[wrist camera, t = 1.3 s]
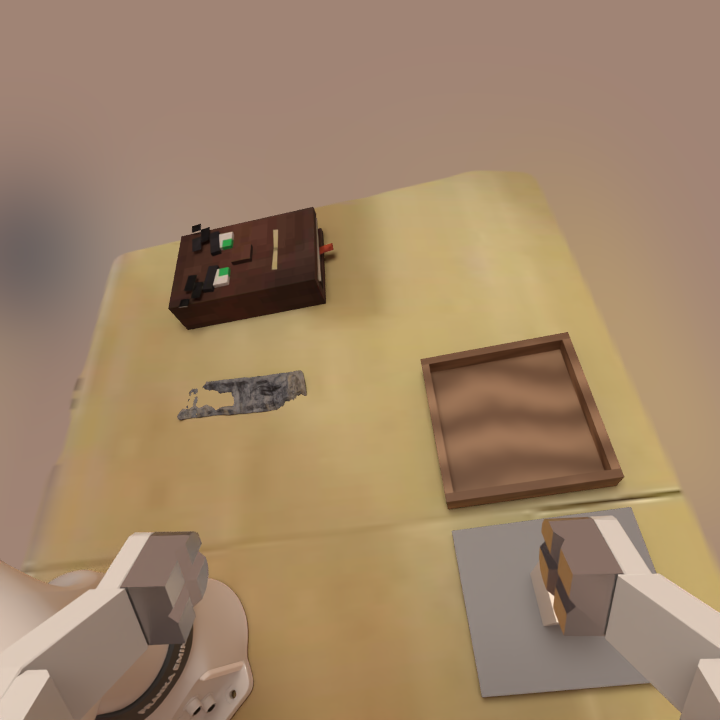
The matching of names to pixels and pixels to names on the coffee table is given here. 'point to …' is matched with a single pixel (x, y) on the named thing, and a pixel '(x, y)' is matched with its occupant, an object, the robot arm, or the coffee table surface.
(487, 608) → the board
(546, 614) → the tall cream pillar block
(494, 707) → the coffee table surface
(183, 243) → the decorative book
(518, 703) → the coffee table surface
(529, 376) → the box
